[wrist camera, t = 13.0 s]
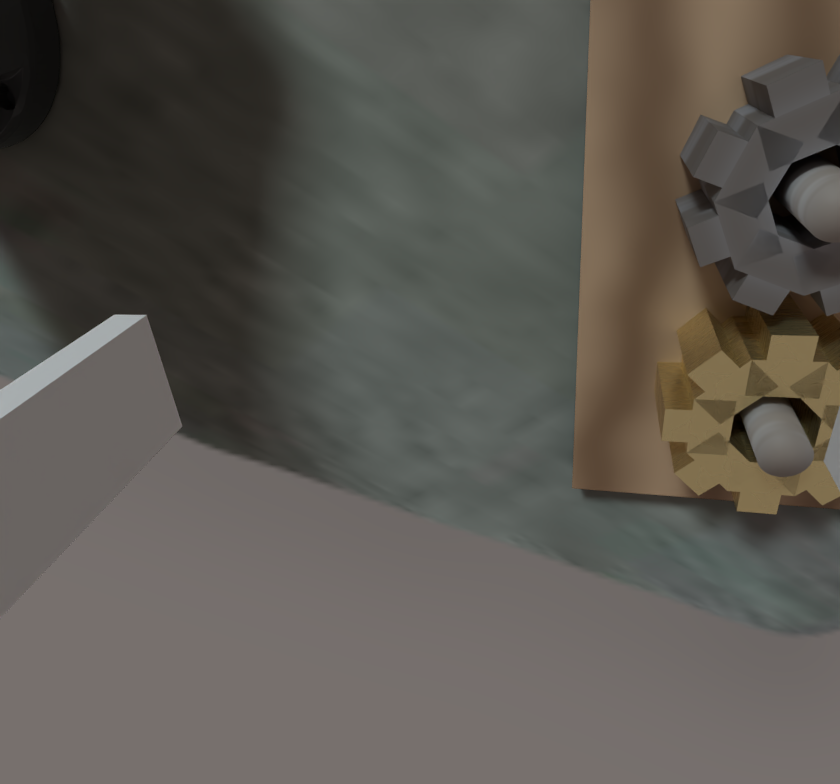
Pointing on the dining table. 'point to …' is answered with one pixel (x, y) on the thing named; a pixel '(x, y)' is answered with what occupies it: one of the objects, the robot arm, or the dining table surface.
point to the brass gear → (749, 400)
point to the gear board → (642, 218)
